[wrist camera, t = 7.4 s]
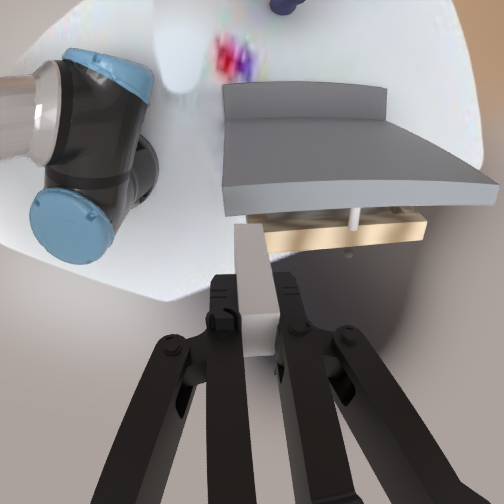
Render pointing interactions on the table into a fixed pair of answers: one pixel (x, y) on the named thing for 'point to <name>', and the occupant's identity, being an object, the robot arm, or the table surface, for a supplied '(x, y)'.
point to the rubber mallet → (284, 6)
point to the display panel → (333, 154)
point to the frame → (338, 228)
